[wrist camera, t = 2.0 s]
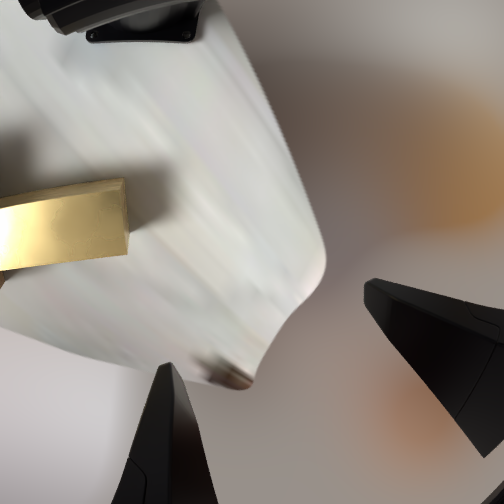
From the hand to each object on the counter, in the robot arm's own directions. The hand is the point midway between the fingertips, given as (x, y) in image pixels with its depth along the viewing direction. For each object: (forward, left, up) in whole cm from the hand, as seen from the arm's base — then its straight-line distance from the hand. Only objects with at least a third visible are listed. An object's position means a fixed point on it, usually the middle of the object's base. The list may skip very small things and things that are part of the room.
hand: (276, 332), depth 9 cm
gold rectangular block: (+11, 0, -10) cm, 15 cm away
